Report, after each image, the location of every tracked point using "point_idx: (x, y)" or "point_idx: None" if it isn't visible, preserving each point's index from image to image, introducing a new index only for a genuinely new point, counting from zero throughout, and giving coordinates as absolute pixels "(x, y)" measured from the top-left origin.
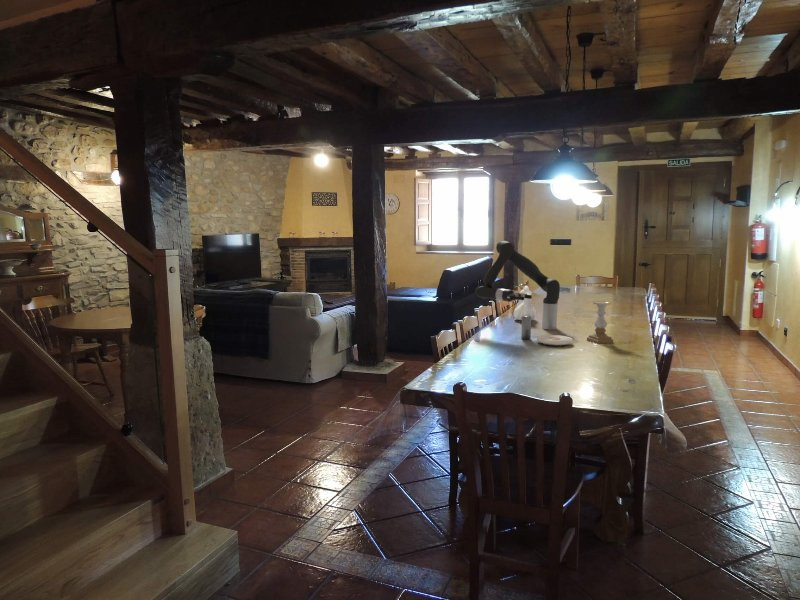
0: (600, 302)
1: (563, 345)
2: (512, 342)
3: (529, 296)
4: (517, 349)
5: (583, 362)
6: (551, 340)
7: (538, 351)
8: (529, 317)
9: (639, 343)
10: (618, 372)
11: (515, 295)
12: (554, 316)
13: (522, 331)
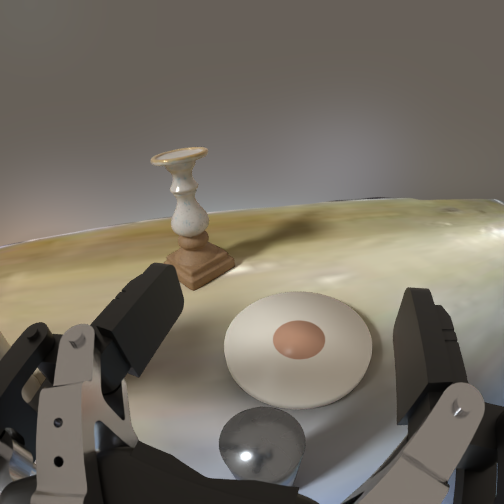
0: (171, 157)
1: None
2: None
3: (163, 297)
4: None
5: (435, 253)
6: (344, 337)
7: None
8: (285, 412)
9: None
10: (434, 219)
11: (447, 473)
12: (10, 347)
13: (291, 484)
